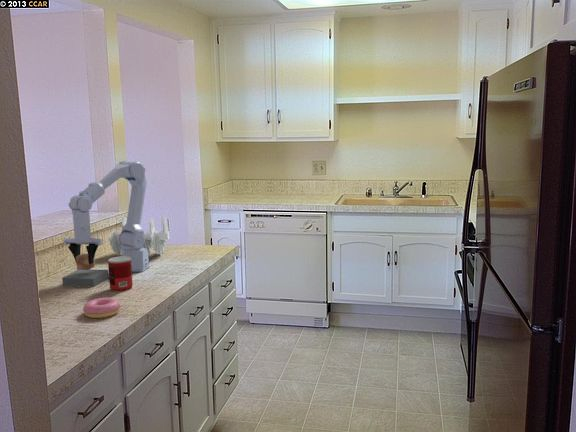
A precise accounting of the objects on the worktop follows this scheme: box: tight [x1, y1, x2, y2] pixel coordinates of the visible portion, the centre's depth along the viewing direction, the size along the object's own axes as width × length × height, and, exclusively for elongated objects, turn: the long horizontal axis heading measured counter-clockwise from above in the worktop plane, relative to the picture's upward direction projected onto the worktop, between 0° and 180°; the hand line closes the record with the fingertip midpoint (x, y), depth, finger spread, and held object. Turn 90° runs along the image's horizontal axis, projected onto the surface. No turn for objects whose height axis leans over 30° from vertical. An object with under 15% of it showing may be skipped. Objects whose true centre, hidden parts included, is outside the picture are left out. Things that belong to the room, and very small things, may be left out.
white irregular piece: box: [108, 216, 170, 256], centre depth 234 cm, size 18×18×25 cm
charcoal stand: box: [61, 268, 109, 288], centre depth 195 cm, size 12×12×3 cm
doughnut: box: [82, 297, 121, 319], centre depth 161 cm, size 11×11×4 cm
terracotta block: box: [75, 253, 95, 270], centre depth 194 cm, size 4×4×5 cm
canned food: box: [107, 255, 134, 292], centre depth 185 cm, size 8×8×11 cm
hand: (84, 263), depth 194 cm, fingers closed on terracotta block, 4 cm apart
